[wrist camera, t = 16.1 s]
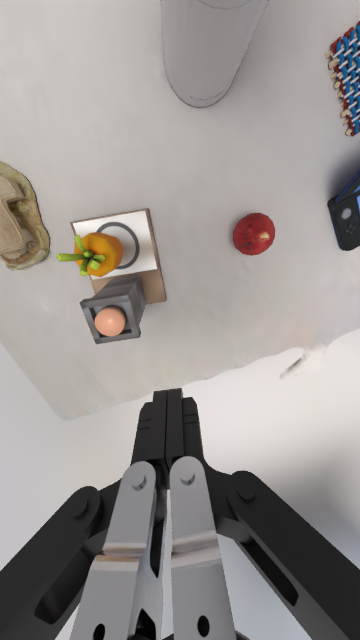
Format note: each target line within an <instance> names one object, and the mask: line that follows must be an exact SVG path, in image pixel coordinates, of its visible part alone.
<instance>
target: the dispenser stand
mask: <svg viewBox="0 0 360 640" xmlns="http://www.w3.org/2000/svg"><path fill="white" fill-rule="evenodd" d="M70 223H71V226H72V229H73V232H74V235H75V236H77V235H80V237H81V238H82V237H84V236H86V235H87V234H89V233H93V232H100V233H104V234H108V235H111V236H114V237H117V238H118V239H119V241H120V242H121V244H122V245H123V247H124V250H123V256H122V261H121V263H120V265H119V266H118V267H117V268H116V269H115V270H113V271H111V272H110V273H108V274H106V275H104V276H103V277H97V276H93V275H90V274H89V277H90V280H91V283H92V286H93V289H94V291H95V294H96V295H95V296H94V297H92V298H90V299H84V300H82V301H81V302H80V305H81V308H82V310H83V313H84V315H85V318H86V320H87V323H88V325H89V328H90V330H91V333H92V336H93V338H94V341H95V343H96V344H101V343H107V342H114V341H120V340H126V339H133V338H139V337H140V335H141V331H140V327H139V324H140V321H141V318H142V314H143V311H144V308H145V305H146V304H152V303H158V302H164V301H166V295H165V290H164V285H163V280H162V275H161V270H160V265H159V260H158V255H157V250H156V245H155V240H154V235H153V230H152V225H151V220H150V215H149V210H148V209H142V210H137V211H131V212H126V213H120V214H114V215H109V216H103V217H98V218H92V219H87V220H81V221H75V222H70ZM109 305H114V306H117V307H119V308H121V309H122V310H123V311H124V312H125V314H126V318H127V319H126V323H125V326H124V328H123V330H122V332H121V333H120V334H118V335H116V336H106V335H103V334H101V333H100V332H99V331H98V330H97V328H96V327H95V318H96V316H97V315H98V313H99V312H100V311H101V310H102V309H103V308H104V307H106V306H109Z"/></svg>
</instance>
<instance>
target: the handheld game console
mask: <svg viewBox="0 0 360 640" xmlns="http://www.w3.org/2000/svg"><path fill="white" fill-rule="evenodd" d="M328 206H329V207H330V212H331V216H332V220H333V224H334V227H335V231H336V235H337V238H338V242H339V246H340V248H341V249H342V250H345V251H350V250H353V249H355V248H356V247H358V246H360V171H359V172H358V173H357V175H356V176H355V177H354V178H353V179H352V181H351V182H350V183H349V184H348V185H347V187H346V188H345V189H344V190H343V192H342V193H341V194H339V195H337V196H336V197H334V198H332V199H331V200H330V201H329V202H328Z"/></svg>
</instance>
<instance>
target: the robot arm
mask: <svg viewBox="0 0 360 640" xmlns="http://www.w3.org/2000/svg"><path fill="white" fill-rule="evenodd" d="M267 2H268V0H161V14H162V37H163V56H164V65H165V71H166V75H167V78H168V81H169V83H170V85H171V87H172V89H173V90H174V92H175V93H176V95H177V96H178V97H179V98H180V99H181V100H182V101H183V102H185V103H187V104H189V105H191V106H195V107H206V106H209V105H212V104H214V103H215V102H217V101H219V100H220V99H221V98H222V97H223V96H224V95H225V94H226V92H227V91H228V89H229V88H230V86H231V84H232V82H233V79H234V77H235V75H236V73H237V70H238V68H239V66H240V64H241V62H242V60H243V57H244V55H245V53H246V50H247V48H248V46H249V44H250V41H251V39H252V37H253V34H254V32H255V30H256V28H257V25H258V23H259V21H260V18H261V16H262V14H263V12H264V9H265V7H266V5H267ZM138 421H139V422H138V426H137V432H136V438H135V444H134V449H133V455H132V460H131V464H130V467H129V468H128V469H127V470H126V472H125V473H124V475H123V477H122V478H121V479H120V480H118V481H117V482H115V483H114V484H112V485H109V486H107V487H106V488H103V489H101V490H100V491H98V490H97V489H96V488H94V487H92V486H86V487H83V488H80V489H79V490H77V491H76V492H75V493H74V494H73V495H71V497H70V498H69V499H68V500H67V501H66V502H65V503H64V504H63V505H62V506H61V507H60V508H59V510H57V511H56V512H55V514H54V515H53V516H52V517H51V518H50V519H49V520H48V521H47V522H46V523H45V524H44V525H43V526H42V527H41V529H40V530H39V531H38V532H37V533H36V534H35V535H34V536H33V537H32V538H31V539H30V540H29V541H28V542H27V543H26V545H25V546H24V547H23V548H22V549H21V550H20V551H19V552H18V553H17V554H16V555H15V556H14V557H13V558H12V559H11V560H10V562H9V563H8V564H7V565H6V566H5V567H4V568H3V569H2V570H1V571H0V640H55V638H56V637H57V635H58V634H59V632H60V631H61V629H62V628H63V626H64V625H65V623H66V622H67V620H68V619H69V618H70V616H71V615H72V613H73V612H74V610H75V609H76V607H77V606H78V604H79V603H80V605H79V608H78V612H77V615H76V618H75V622H74V625H73V629H72V632H71V636H70V640H160V639H161V625H162V611H163V588H162V571H163V558H164V546H165V534H166V521H167V490H168V489H170V497H171V517H172V538H173V549H172V553H171V577H172V602H173V625H174V633H173V634H171V635H170V636H168V637H166V638H164V639H162V640H250V639H249V638H247V637H246V636H244V635H243V634H241V633H239V632H238V631H236V630H235V628H234V623H233V617H232V612H231V607H230V602H229V596H228V591H227V586H226V581H225V575H224V570H223V565H222V560H221V554H220V550H219V544H218V540H217V535H216V533H218V534H221V535H223V536H226V537H229V538H231V539H233V540H234V541H235V542H236V544H237V545H238V546H239V547H240V549H241V550H242V551H243V552H244V554H245V555H246V556H247V557H248V559H249V560H250V561H251V563H252V564H253V565H254V566H255V568H256V569H257V570H258V572H259V573H260V574H261V575H262V577H263V578H264V579H265V580H266V582H267V583H268V584H269V585H270V587H271V588H272V589H273V590H274V592H275V593H276V594H277V596H278V597H279V598H280V599H281V601H282V602H283V603H284V605H285V606H286V607H287V608H288V610H289V611H290V612H291V613H292V615H293V616H294V617H295V618H296V620H297V621H298V622H299V624H300V625H301V626H302V627H303V628H304V630H305V631H306V632H307V634H308V635H309V636H310V637H311V639H312V640H360V570H359V569H358V568H357V567H356V566H355V565H354V564H353V563H352V562H351V561H350V560H348V559H347V558H346V557H345V556H344V555H343V554H342V553H341V552H340V551H339V550H337V549H336V548H335V547H334V546H333V545H332V544H331V543H330V542H328V541H327V540H326V539H325V538H324V537H323V536H322V535H321V534H319V532H318V531H316V530H315V529H314V528H313V527H312V526H311V525H310V524H309V523H308V522H306V521H305V520H304V519H303V518H302V517H301V516H300V515H299V514H298V513H296V512H295V511H294V510H293V509H292V508H291V507H290V506H289V505H288V504H287V503H286V502H284V501H283V500H282V499H281V498H280V497H279V496H278V495H277V494H276V493H274V492H273V491H272V490H271V489H270V488H269V487H268V486H267V485H266V484H265V483H263V482H262V481H261V480H260V479H259V478H258V477H257V476H255V475H254V474H253V473H251V472H248V471H237V472H235V473H233V474H232V475H229V474H225V473H222V472H219V471H216V470H214V469H213V468H211V467H210V466H209V465H208V464H207V462H206V461H205V459H204V456H203V447H202V439H201V432H200V423H199V416H198V409H197V404H196V402H195V401H194V399H193V398H192V397H188V398H183V393H182V388H177V389H169V390H161V391H154V395H153V402H147V403H145V404H144V406H143V408H142V409H141V411H140V415H139V420H138Z"/></svg>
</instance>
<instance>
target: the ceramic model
mask: <svg viewBox="0 0 360 640" xmlns="http://www.w3.org/2000/svg"><path fill="white" fill-rule="evenodd" d="M49 243H50V242H49V236H48V233H47V231H46V229H45V228H44V226H43V224H42V222H41V217H40V214H39V211H38V207H37V202H36V197H35V194H34V191H33V189H32V187H31V185H30V183H29V181H28V180H27V179H26V178H25V177H24V176H23V175H22V174H21V173H19V172H17V171H16V170H14V169H12V168H11V167H10V166H8V165H6V164H5V163H3V162H0V259H1V260H2V261H3V262H4V263H5V264H6V267H7V268H8V269H10V270H12V271H13V270H21V269H24V268H26V267H28V266H31V265H33V264H36V263H39V262H41V261H42V260H43V259H44V258H45V257H46V256H47V254H48V252H49Z"/></svg>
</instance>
